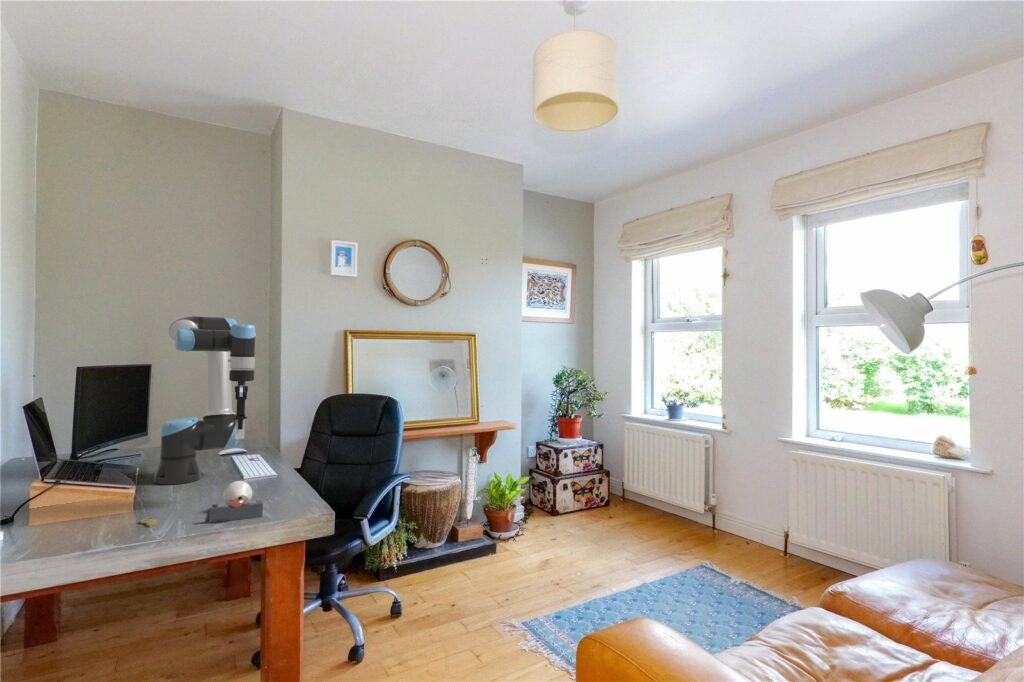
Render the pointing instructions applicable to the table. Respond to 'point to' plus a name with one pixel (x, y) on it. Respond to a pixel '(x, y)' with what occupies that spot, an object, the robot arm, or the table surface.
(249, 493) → the spotlight
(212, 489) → the table surface
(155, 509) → the table surface
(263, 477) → the table surface
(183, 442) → the robot arm
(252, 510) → the channel
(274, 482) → the table surface
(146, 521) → the brass key
